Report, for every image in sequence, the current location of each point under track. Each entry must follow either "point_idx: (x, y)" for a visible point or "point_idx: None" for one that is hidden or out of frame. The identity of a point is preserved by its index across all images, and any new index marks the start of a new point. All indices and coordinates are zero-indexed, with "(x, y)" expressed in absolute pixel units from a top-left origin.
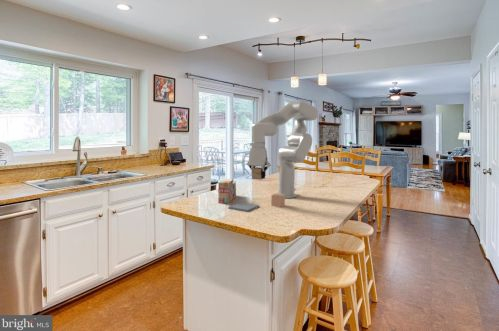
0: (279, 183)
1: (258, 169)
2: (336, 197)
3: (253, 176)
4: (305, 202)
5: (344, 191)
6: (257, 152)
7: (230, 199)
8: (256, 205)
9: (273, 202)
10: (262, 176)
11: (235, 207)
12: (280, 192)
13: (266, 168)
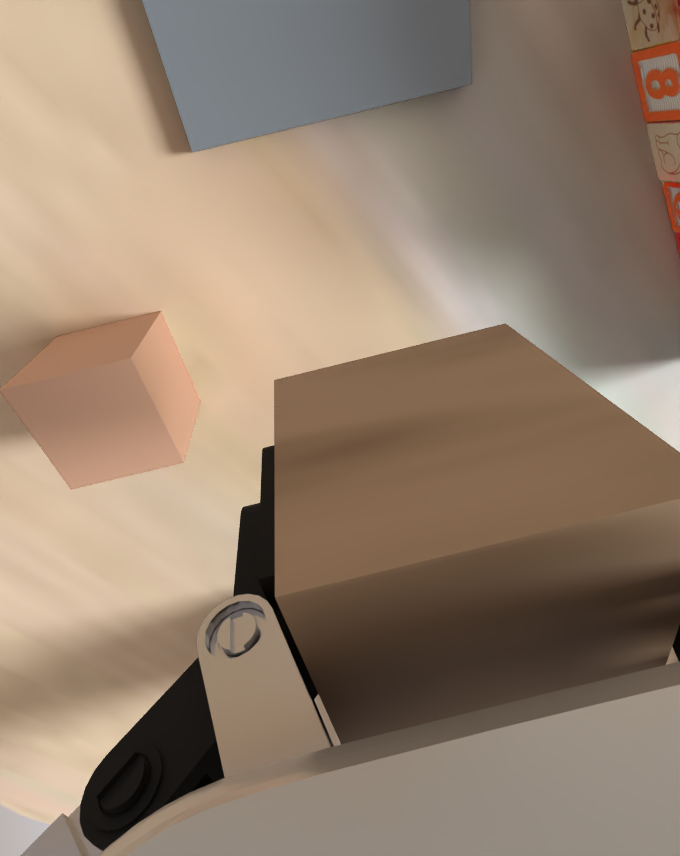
0: None
1: (364, 554)
2: (99, 750)
3: (485, 359)
4: (90, 583)
5: None
6: None
7: (657, 73)
8: (197, 104)
9: (125, 330)
10: (264, 476)
11: None
12: None
13: (112, 753)
